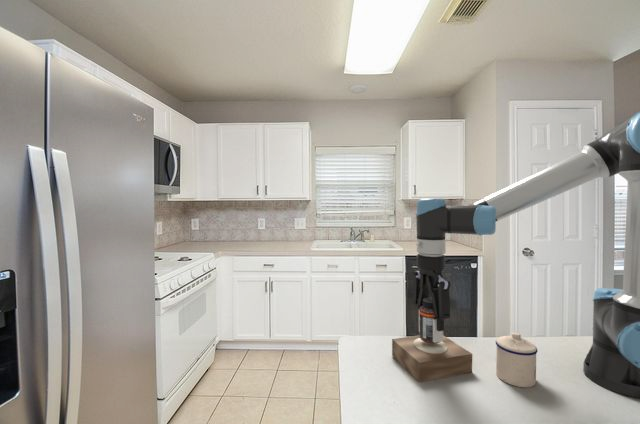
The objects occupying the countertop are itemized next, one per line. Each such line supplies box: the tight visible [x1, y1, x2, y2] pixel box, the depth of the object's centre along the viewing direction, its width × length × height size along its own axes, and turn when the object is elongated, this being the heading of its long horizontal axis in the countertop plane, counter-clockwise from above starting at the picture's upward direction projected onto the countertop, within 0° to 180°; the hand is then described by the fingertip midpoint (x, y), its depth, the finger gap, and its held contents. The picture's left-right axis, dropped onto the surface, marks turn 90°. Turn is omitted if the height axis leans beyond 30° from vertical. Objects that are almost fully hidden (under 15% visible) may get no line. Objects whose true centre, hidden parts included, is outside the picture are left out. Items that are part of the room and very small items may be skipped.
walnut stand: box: [391, 334, 473, 383], centre depth 88 cm, size 14×16×5 cm
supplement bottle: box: [418, 297, 439, 344], centre depth 88 cm, size 6×6×11 cm
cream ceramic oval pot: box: [495, 332, 538, 388], centre depth 82 cm, size 12×9×12 cm
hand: (430, 336), depth 88 cm, fingers closed on supplement bottle, 6 cm apart
